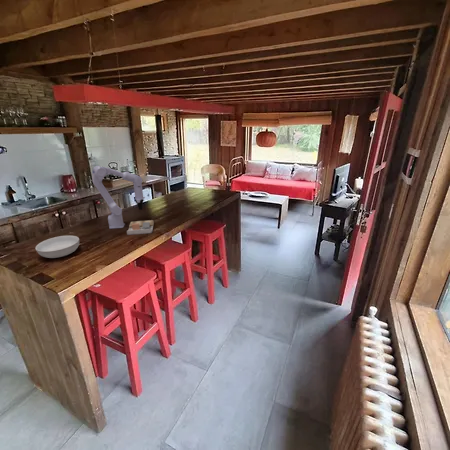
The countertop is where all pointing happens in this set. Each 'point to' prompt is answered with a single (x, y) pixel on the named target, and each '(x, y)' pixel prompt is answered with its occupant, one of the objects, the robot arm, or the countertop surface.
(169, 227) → the countertop surface
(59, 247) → the serving bowl
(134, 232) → the grey tray
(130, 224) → the birch board
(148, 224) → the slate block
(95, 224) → the countertop surface
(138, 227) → the terracotta block
